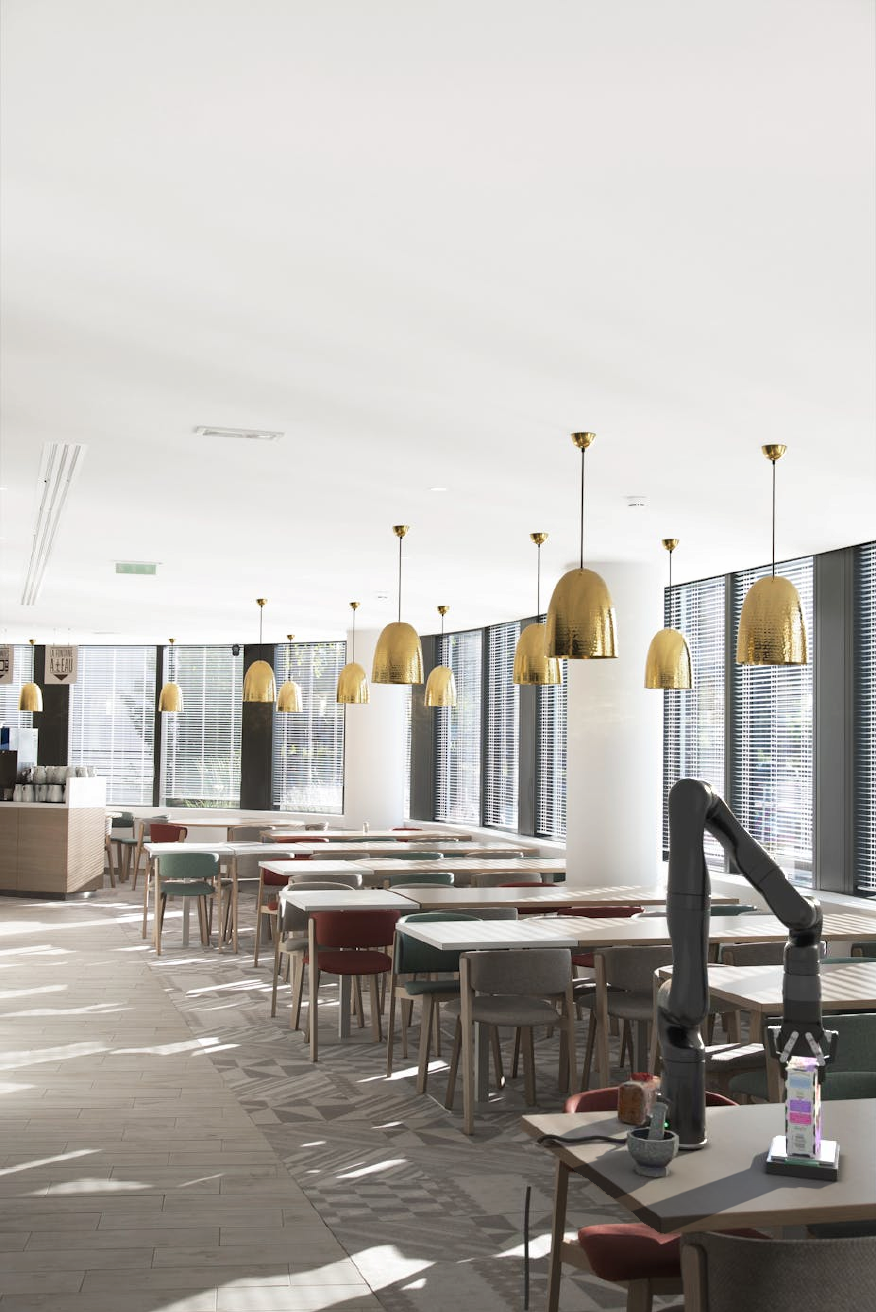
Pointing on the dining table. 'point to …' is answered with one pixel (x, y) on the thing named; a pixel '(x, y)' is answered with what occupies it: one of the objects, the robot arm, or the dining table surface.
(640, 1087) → the food item
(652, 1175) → the mortar and pestle
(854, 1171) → the dining table surface
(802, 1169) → the scale
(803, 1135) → the candy box
